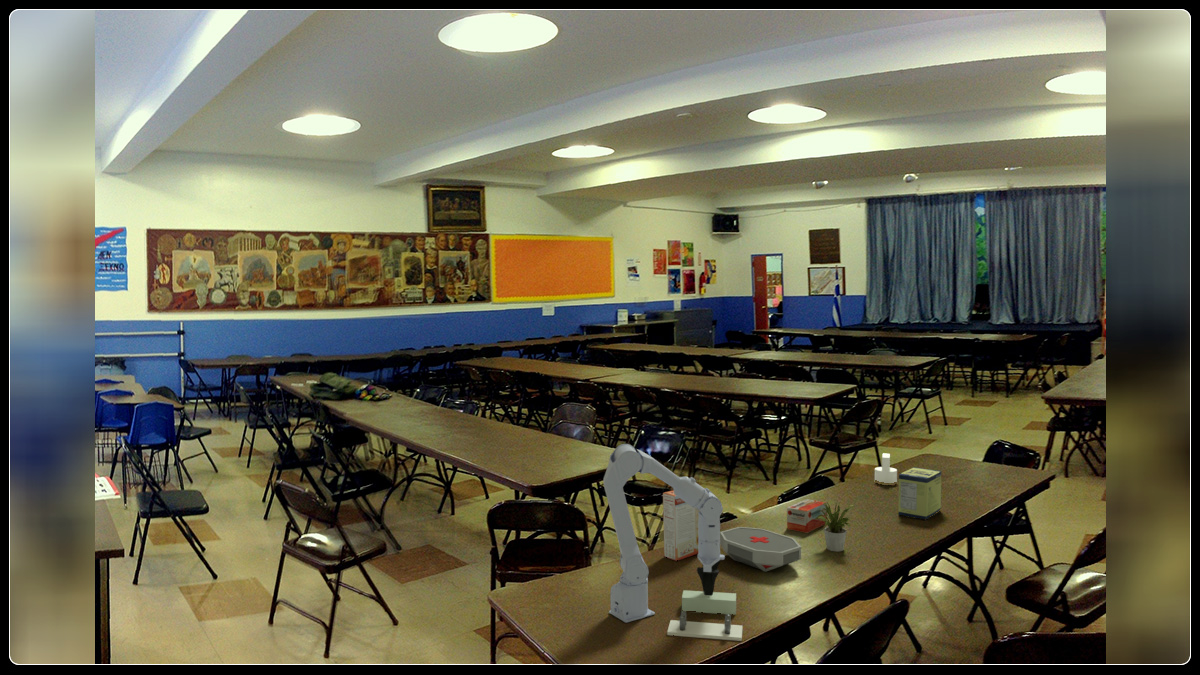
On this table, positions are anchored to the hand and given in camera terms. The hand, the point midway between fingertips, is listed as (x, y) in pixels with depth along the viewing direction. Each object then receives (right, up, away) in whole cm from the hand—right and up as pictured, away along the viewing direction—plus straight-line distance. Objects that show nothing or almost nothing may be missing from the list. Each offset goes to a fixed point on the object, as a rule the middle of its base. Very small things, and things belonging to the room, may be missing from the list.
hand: (709, 589), depth 210 cm
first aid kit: (+20, -3, +35) cm, 41 cm away
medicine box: (+44, -1, +71) cm, 84 cm away
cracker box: (-2, -3, +43) cm, 43 cm away
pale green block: (0, -6, 0) cm, 6 cm away
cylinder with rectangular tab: (+94, +4, +131) cm, 161 cm away
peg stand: (-3, -6, -14) cm, 15 cm away
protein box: (+90, +1, +85) cm, 124 cm away
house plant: (+46, -2, +47) cm, 66 cm away
